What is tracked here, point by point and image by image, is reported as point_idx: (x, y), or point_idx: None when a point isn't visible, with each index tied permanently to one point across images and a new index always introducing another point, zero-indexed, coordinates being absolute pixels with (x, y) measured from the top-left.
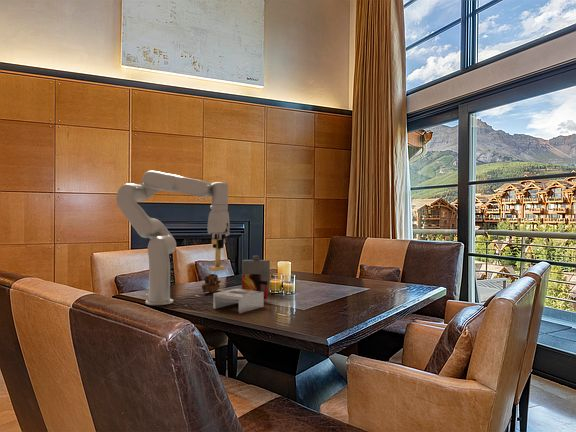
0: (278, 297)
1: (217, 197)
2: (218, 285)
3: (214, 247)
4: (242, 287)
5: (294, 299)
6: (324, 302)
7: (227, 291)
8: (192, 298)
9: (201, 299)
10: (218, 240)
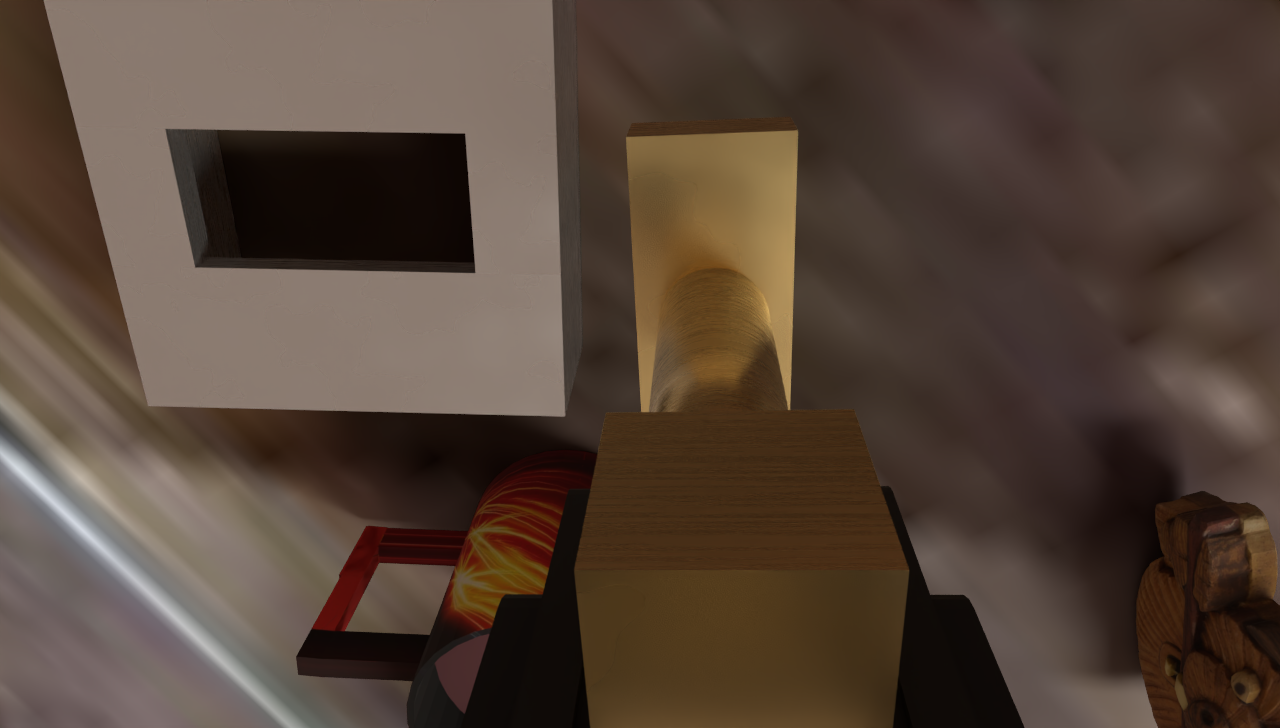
0: None
1: None
2: (1164, 716)
3: None
4: None
5: (267, 705)
6: (5, 724)
7: (504, 187)
8: (1173, 246)
9: (1035, 261)
10: (568, 715)
